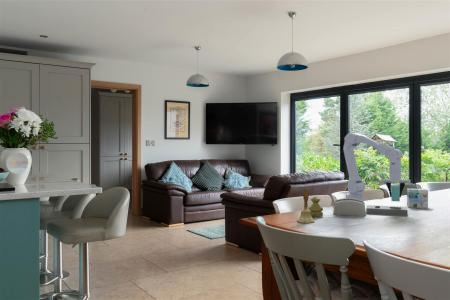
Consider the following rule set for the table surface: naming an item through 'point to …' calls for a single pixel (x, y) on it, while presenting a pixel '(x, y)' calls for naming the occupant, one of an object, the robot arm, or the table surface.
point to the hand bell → (305, 210)
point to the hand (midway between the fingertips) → (395, 196)
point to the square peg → (395, 193)
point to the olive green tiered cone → (316, 208)
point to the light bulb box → (417, 198)
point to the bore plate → (387, 210)
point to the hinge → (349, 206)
